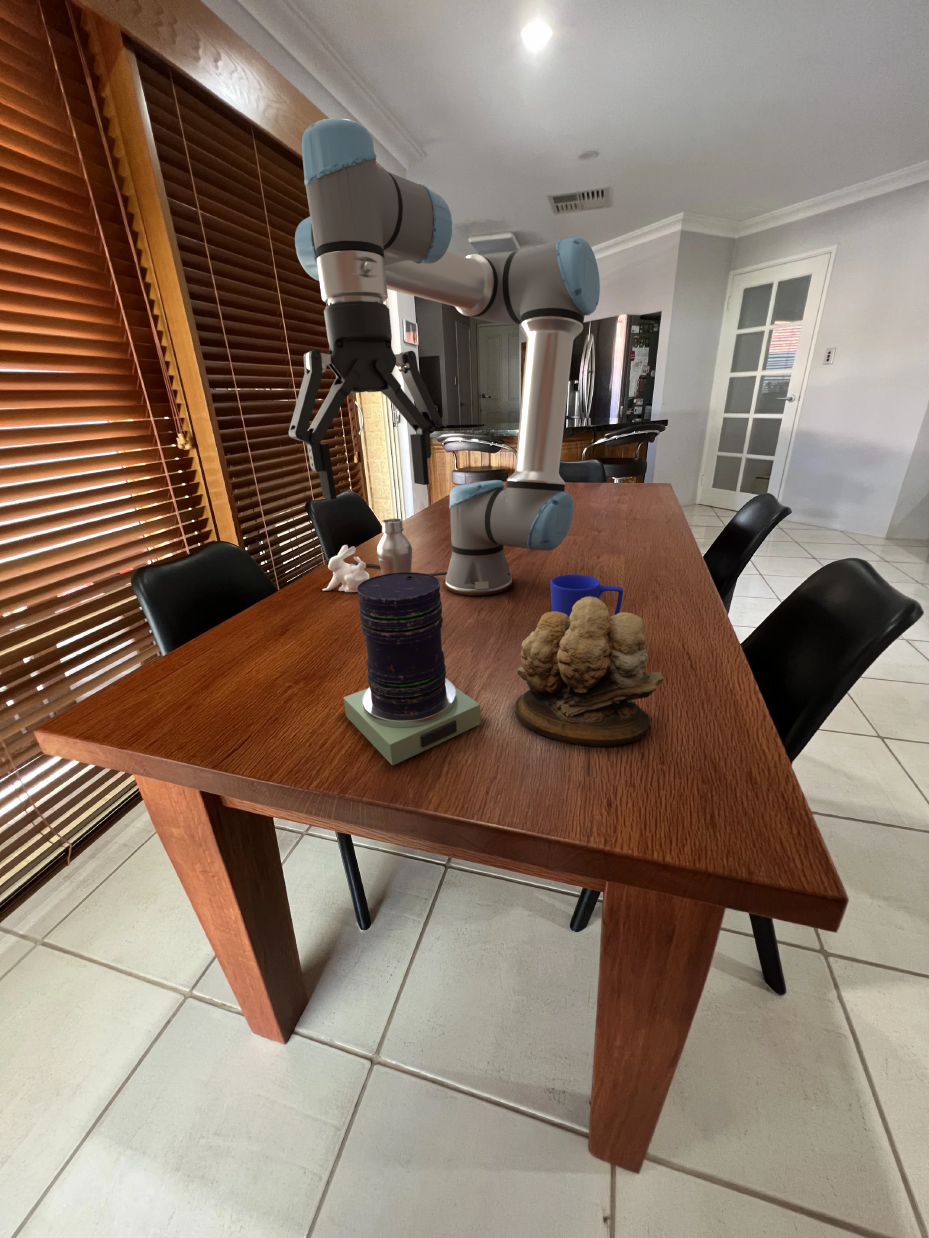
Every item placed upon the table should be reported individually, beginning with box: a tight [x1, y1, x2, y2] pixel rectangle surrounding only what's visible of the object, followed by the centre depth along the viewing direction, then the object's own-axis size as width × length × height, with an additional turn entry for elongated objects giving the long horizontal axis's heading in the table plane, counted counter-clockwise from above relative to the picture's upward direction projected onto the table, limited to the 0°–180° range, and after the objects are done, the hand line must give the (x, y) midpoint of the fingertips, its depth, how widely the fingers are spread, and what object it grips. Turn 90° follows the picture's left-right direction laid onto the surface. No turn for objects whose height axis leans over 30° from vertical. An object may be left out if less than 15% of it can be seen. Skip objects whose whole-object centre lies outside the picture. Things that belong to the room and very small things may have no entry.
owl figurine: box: [514, 596, 664, 747], centre depth 61 cm, size 18×12×17 cm, turn 72°
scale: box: [342, 687, 482, 766], centre depth 65 cm, size 13×13×3 cm
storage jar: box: [357, 571, 447, 715], centre depth 61 cm, size 10×10×15 cm
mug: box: [550, 574, 624, 619], centre depth 86 cm, size 8×12×10 cm
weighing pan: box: [363, 677, 456, 728], centre depth 64 cm, size 12×12×1 cm
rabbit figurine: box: [321, 544, 371, 593], centre depth 115 cm, size 12×8×10 cm, turn 73°
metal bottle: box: [376, 518, 413, 575], centre depth 91 cm, size 6×7×20 cm
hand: (378, 490), depth 66 cm, fingers open, 13 cm apart
